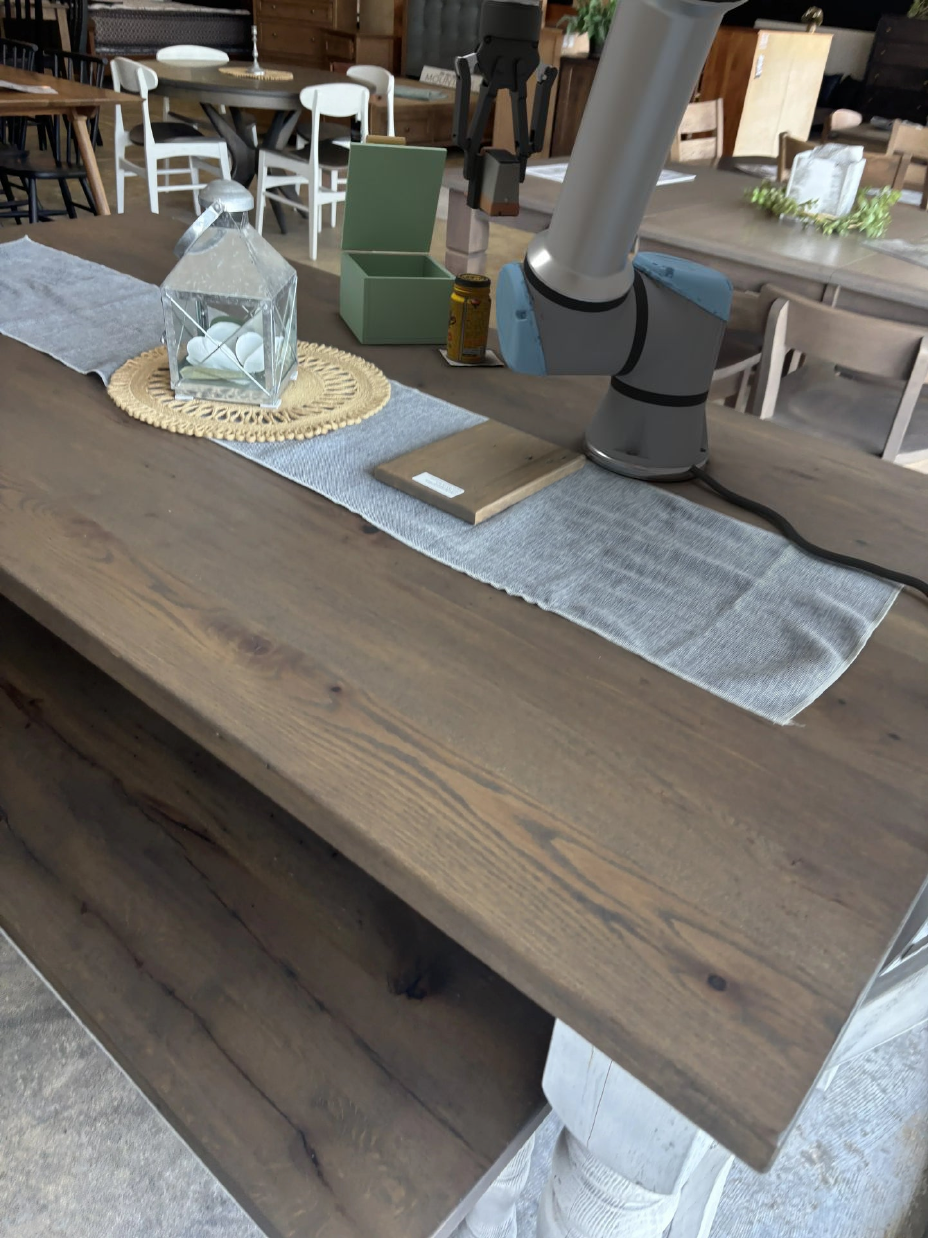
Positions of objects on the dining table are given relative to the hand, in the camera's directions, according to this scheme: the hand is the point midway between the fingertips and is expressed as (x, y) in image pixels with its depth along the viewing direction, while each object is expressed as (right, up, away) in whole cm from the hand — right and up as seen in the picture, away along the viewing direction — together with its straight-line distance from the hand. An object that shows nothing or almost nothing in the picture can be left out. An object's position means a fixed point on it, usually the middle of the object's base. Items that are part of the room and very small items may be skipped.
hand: (490, 207), depth 123 cm
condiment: (-3, -16, +16) cm, 23 cm away
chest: (-15, -9, +24) cm, 30 cm away
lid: (-15, +9, +18) cm, 25 cm away
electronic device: (0, 0, 0) cm, 1 cm away
